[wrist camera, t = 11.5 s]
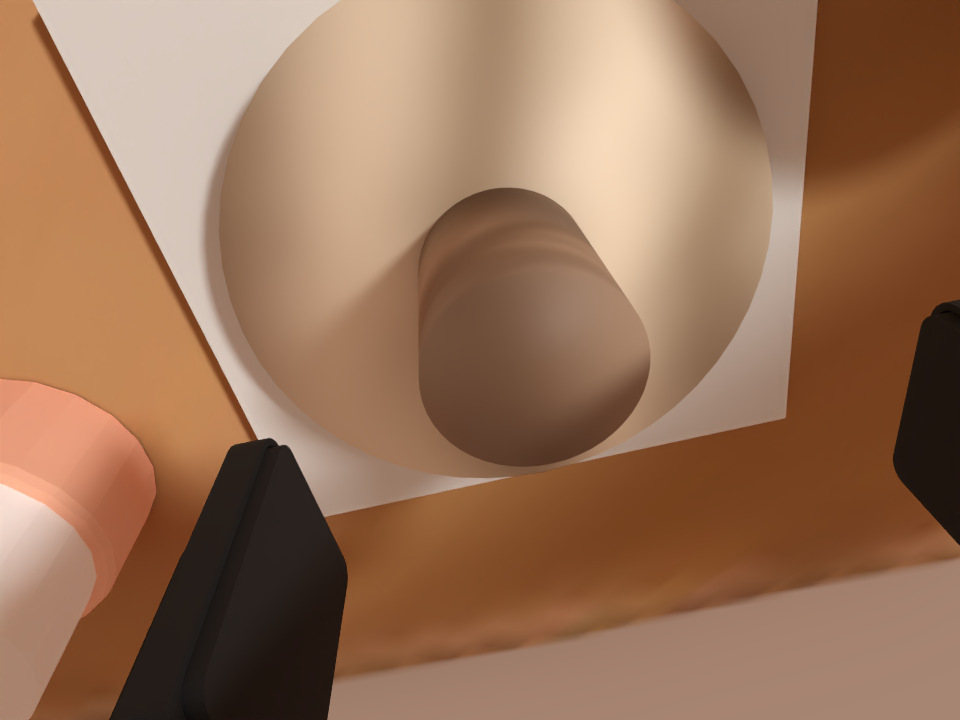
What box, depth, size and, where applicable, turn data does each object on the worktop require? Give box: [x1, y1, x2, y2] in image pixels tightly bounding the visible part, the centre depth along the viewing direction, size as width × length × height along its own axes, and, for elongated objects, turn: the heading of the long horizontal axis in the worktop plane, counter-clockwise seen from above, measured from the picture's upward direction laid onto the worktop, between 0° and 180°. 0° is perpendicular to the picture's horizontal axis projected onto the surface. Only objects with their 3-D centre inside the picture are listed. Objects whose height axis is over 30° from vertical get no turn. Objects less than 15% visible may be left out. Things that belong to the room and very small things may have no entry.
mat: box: [33, 0, 818, 517], centre depth 17 cm, size 17×16×1 cm
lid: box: [219, 0, 773, 478], centre depth 14 cm, size 14×14×6 cm
